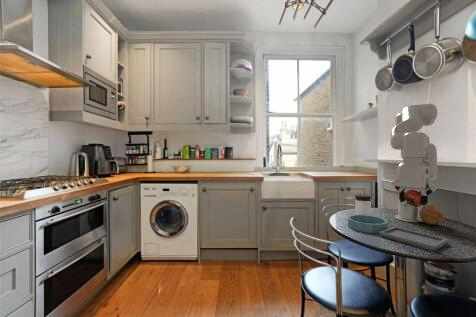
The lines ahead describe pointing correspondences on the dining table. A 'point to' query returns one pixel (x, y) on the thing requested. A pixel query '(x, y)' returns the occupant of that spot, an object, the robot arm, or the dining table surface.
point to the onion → (431, 214)
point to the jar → (362, 204)
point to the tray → (414, 238)
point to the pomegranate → (413, 198)
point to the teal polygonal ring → (367, 223)
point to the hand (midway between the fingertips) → (412, 203)
